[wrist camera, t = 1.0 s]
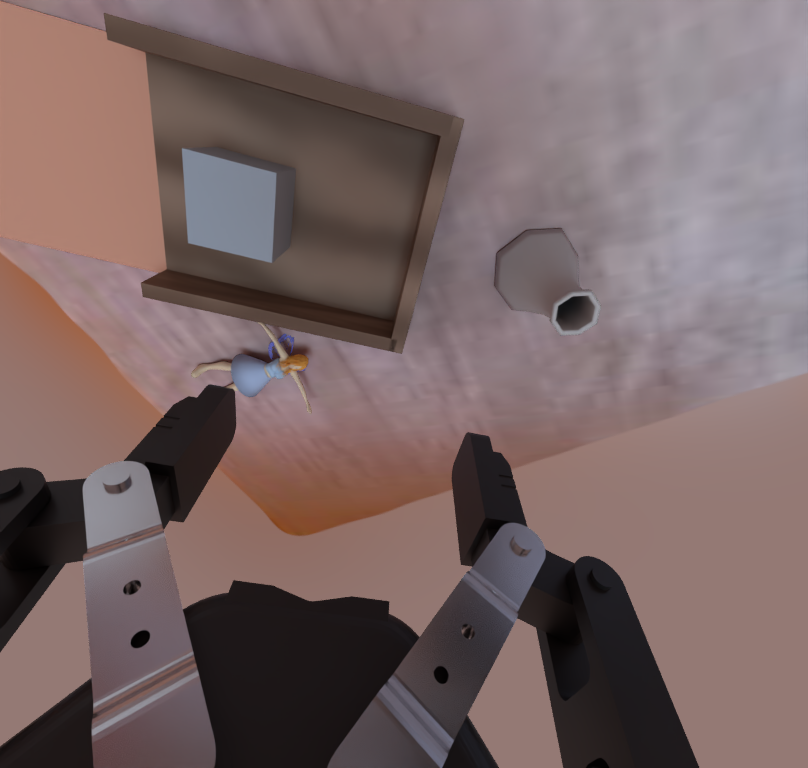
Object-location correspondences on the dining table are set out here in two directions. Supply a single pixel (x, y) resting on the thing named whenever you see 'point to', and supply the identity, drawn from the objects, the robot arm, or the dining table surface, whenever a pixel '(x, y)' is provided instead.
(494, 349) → the dining table surface
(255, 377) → the fairy figurine
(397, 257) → the walnut cubby
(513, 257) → the flask
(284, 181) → the slate block
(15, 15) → the terracotta mat
